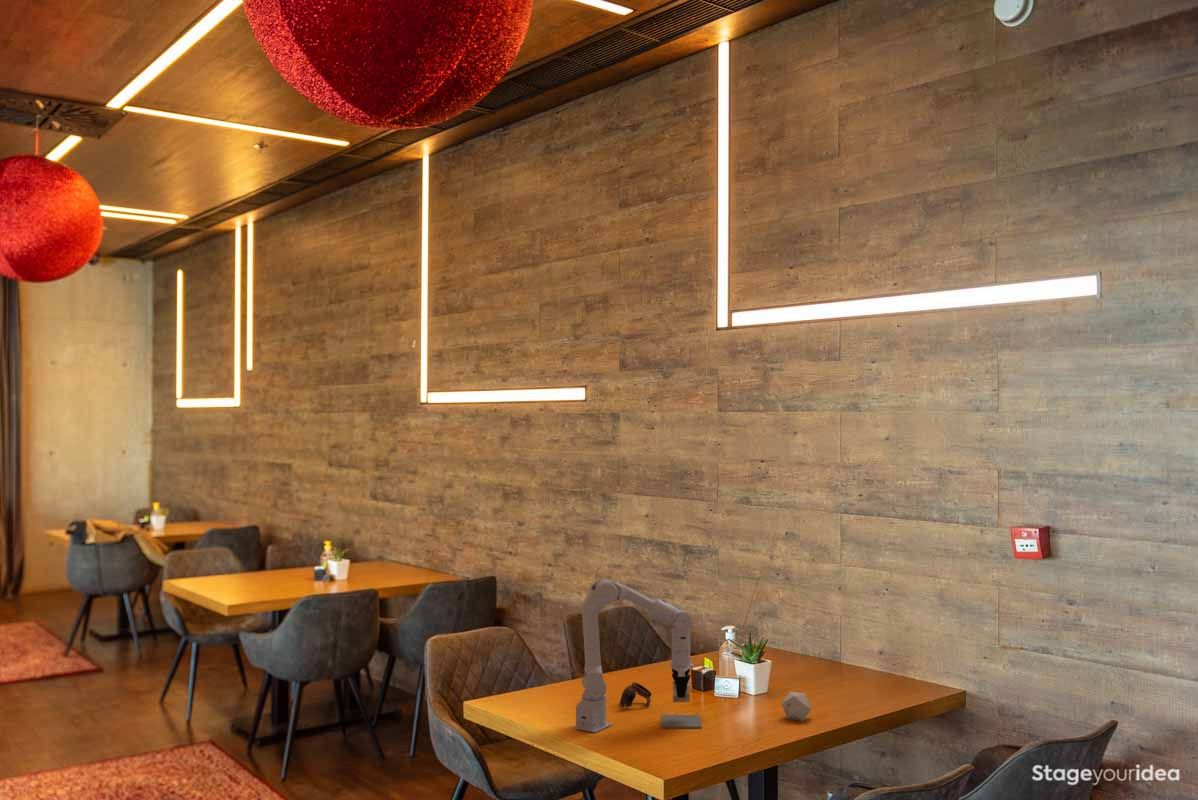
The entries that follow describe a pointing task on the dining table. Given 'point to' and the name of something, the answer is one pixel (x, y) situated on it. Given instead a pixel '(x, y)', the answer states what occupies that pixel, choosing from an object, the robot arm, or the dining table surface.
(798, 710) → the die
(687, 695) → the cream block
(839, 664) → the dining table surface
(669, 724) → the slate mat
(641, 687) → the dark brown looped arch
